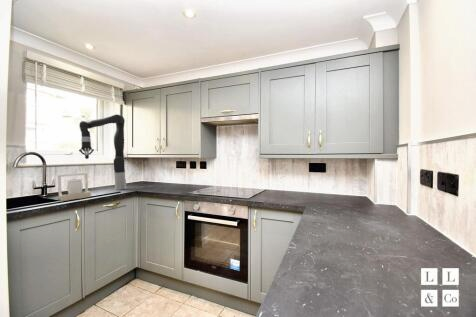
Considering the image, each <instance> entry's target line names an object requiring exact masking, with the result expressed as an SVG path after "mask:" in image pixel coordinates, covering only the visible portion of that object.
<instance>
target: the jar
mask: <svg viewBox="0 0 476 317" xmlns="http://www.w3.org/2000/svg"><path fill="white" fill-rule="evenodd" d="M66 182H67V184H66V190H67V193H68V194H77V193H83V185H84V184H83V179H82V178H73V179H67V180H66ZM68 194H67V195H68Z"/></svg>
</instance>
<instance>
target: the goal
mask: <svg viewBox="0 0 476 317" xmlns="http://www.w3.org/2000/svg"><path fill="white" fill-rule="evenodd" d="M74 176H84V187H85V188H84V192H82V193H77V194H63V193H62V178H63V177H74ZM88 182H89V180H88V172H79V173H67V174H57V188H58V190H57V191H58V199H59V198H60V199H59V200H60V201H61V200H63V201H68V200H69V199H70V200H75V199H83V198H84V199H85V198H90V197H91V196H92V195H91V191H90V190H89V183H88ZM70 200H69V201H70Z"/></svg>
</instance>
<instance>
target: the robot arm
mask: <svg viewBox="0 0 476 317" xmlns="http://www.w3.org/2000/svg"><path fill="white" fill-rule="evenodd" d="M78 124H79V129H80V133H81V147H80V149H78V151H79V152H80V153H81V154H82V155H84V158H85V159H86V160H88V159H89V158H90V156H89V155H91V154H92V153H93V152H94V151H95V149H93V148H92V140H91V132H90V131H89V129H93V128H97V127H102V126H105V125H108V124H115V132H114V135H113V146H114V151H115V156H114V159H113V170H114V190H116V191H119V190H126V189H127V179H126V169H125V161H126V160H125V156H124V155H125V154H124V151H125V118H124V116H123V115H120V114H114V115H113V114H112V115H111V116H108V117H102V118H97V119H92V120H90V121H85V120H81V121H80V122H79V123H78Z"/></svg>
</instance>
